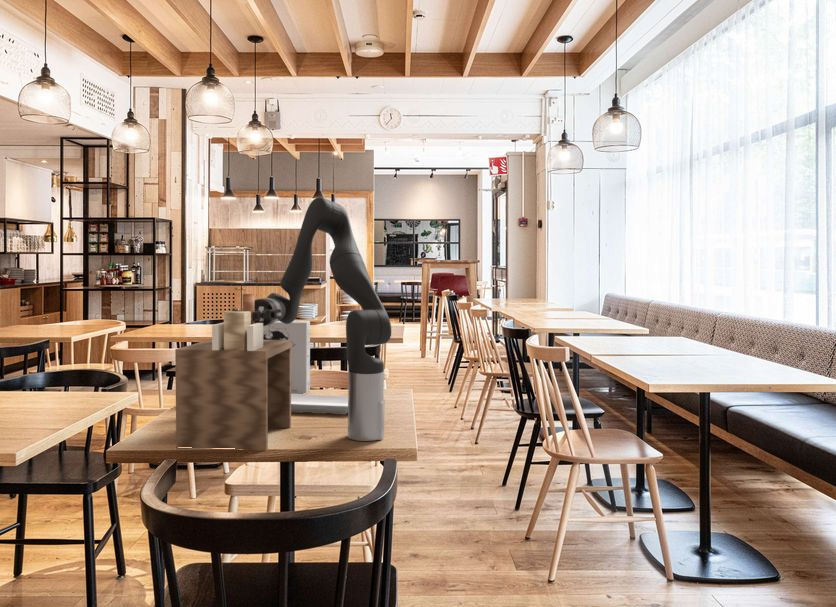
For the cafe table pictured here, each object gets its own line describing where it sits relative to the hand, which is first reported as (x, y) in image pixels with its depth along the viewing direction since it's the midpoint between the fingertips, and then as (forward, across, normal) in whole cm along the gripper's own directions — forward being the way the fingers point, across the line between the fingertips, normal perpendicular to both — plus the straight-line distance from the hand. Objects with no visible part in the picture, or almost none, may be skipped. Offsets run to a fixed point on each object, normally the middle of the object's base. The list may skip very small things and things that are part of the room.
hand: (245, 316), depth 164 cm
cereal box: (-64, -9, +32) cm, 72 cm away
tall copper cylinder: (+2, 0, +7) cm, 8 cm away
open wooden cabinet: (-3, -3, +32) cm, 32 cm away
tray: (-38, +8, +32) cm, 50 cm away
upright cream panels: (+5, 0, +8) cm, 9 cm away
